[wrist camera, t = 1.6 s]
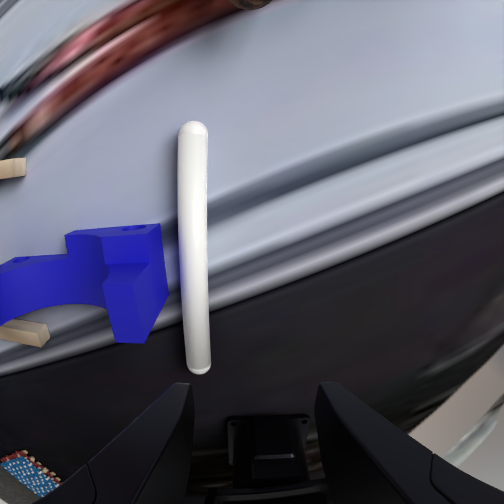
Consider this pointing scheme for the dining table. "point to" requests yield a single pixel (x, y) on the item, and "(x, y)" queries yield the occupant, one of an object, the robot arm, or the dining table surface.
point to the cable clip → (94, 278)
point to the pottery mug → (250, 4)
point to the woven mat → (30, 473)
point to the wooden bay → (16, 328)
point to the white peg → (194, 243)
